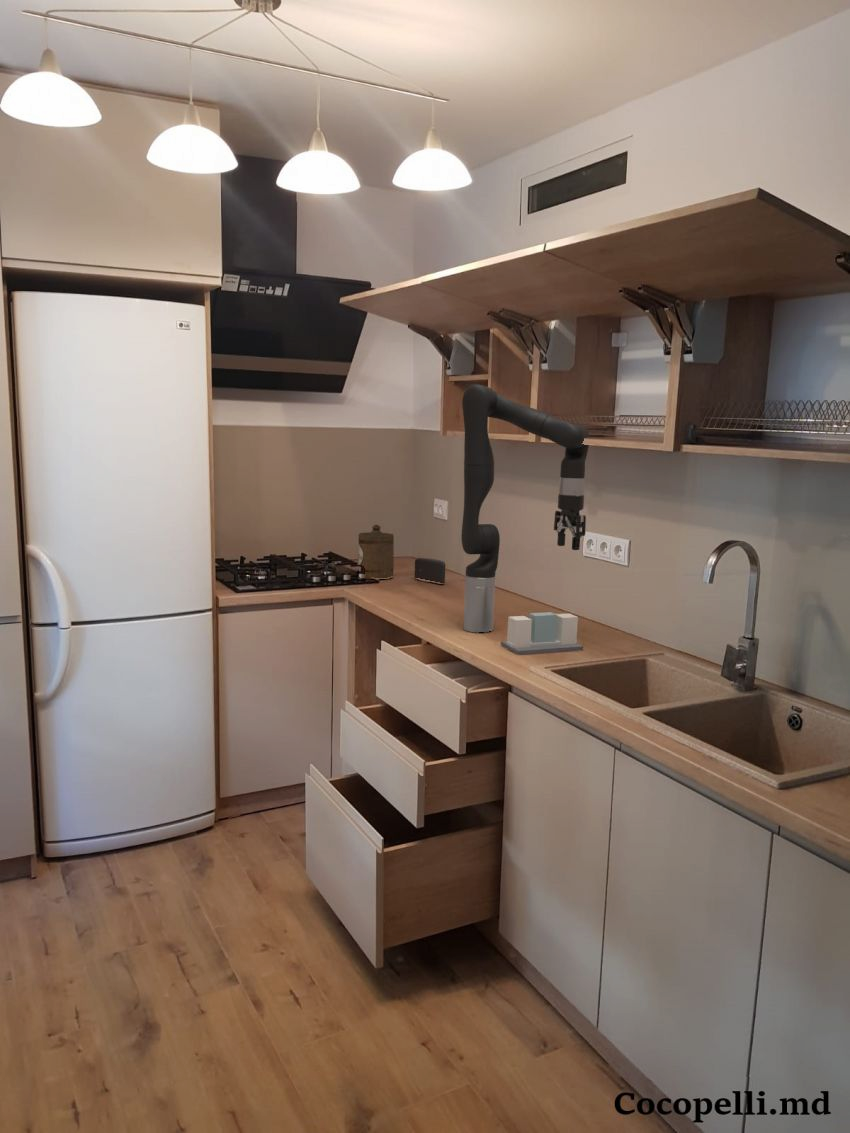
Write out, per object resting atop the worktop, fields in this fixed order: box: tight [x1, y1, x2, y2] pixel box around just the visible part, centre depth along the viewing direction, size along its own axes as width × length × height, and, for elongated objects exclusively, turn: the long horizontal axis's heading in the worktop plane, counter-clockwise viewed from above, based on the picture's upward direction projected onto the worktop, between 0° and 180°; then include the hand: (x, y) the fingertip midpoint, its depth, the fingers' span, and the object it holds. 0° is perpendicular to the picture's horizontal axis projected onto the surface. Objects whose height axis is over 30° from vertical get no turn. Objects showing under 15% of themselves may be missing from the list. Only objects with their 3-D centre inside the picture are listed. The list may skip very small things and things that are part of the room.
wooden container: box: [357, 524, 395, 578], centre depth 351 cm, size 15×15×22 cm
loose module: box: [528, 611, 557, 643], centre depth 244 cm, size 4×7×8 cm, turn 111°
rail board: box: [500, 612, 584, 656], centre depth 245 cm, size 11×21×9 cm, turn 111°
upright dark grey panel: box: [414, 557, 446, 583], centre depth 344 cm, size 16×5×9 cm, turn 47°
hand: (568, 547), depth 251 cm, fingers open, 8 cm apart
